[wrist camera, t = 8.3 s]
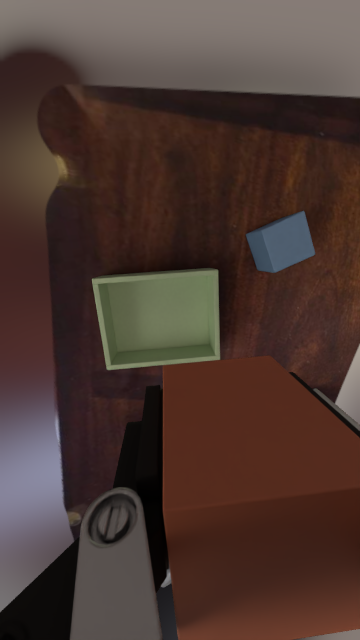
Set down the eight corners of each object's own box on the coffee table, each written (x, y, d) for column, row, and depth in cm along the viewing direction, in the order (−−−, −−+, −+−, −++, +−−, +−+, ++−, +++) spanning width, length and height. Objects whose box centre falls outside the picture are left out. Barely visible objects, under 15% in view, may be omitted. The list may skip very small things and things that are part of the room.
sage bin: (102, 275, 30) (91, 278, 25) (210, 267, 30) (218, 269, 26) (114, 354, 33) (106, 370, 28) (212, 346, 33) (220, 359, 29)
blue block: (245, 234, 30) (261, 230, 25) (281, 218, 29) (304, 210, 25) (257, 270, 31) (274, 273, 26) (291, 255, 31) (315, 254, 26)
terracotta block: (162, 365, 9) (162, 511, 4) (270, 354, 9) (408, 480, 4) (171, 453, 10) (180, 658, 5) (266, 442, 11) (370, 628, 5)
